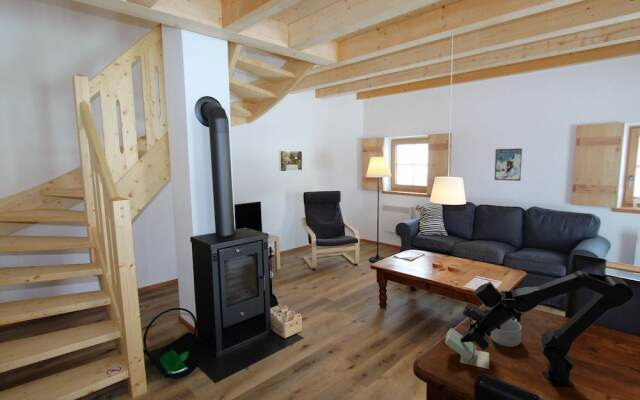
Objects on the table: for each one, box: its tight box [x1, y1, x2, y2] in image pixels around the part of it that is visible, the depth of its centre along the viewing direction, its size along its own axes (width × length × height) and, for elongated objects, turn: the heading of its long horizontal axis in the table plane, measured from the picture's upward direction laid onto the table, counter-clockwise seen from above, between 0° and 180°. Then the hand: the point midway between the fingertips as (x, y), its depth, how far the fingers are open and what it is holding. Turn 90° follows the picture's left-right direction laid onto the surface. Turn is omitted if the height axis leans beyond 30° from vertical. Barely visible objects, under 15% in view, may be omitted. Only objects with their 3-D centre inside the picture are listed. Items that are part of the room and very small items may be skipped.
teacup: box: [490, 319, 523, 348], centre depth 132 cm, size 14×11×8 cm
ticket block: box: [459, 349, 490, 370], centre depth 121 cm, size 9×10×2 cm
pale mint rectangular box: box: [444, 327, 477, 362], centre depth 122 cm, size 3×8×10 cm
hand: (461, 340), depth 122 cm, fingers closed, pressing on pale mint rectangular box
